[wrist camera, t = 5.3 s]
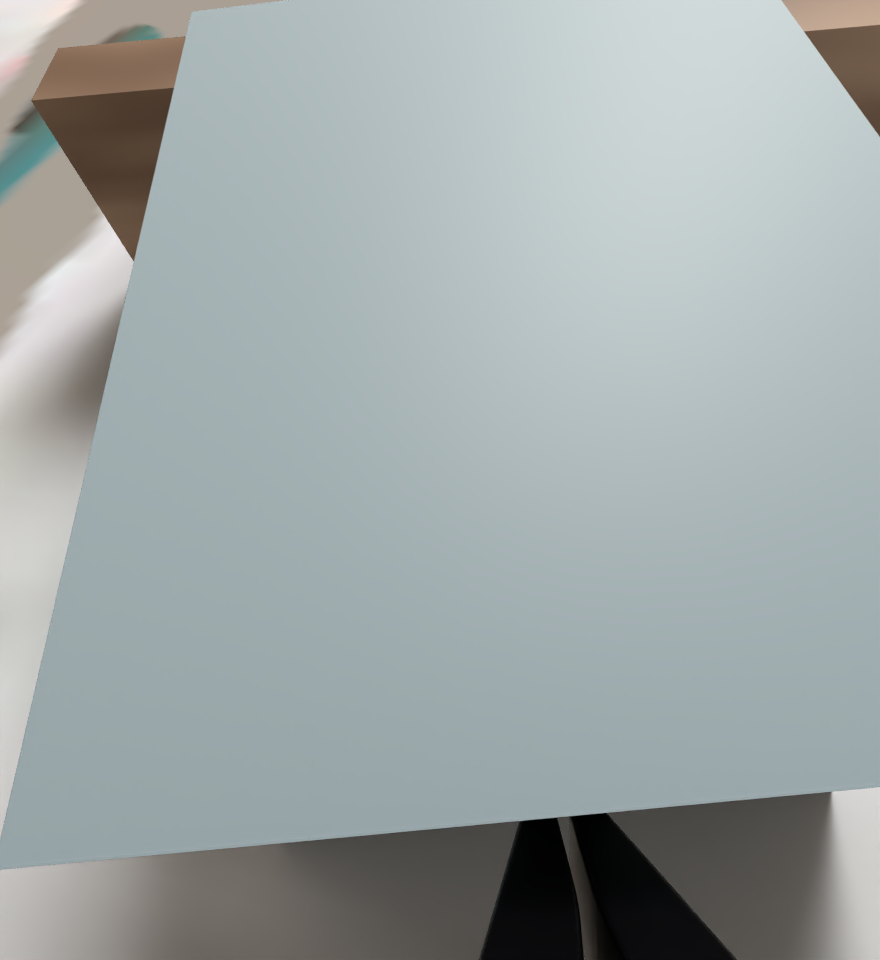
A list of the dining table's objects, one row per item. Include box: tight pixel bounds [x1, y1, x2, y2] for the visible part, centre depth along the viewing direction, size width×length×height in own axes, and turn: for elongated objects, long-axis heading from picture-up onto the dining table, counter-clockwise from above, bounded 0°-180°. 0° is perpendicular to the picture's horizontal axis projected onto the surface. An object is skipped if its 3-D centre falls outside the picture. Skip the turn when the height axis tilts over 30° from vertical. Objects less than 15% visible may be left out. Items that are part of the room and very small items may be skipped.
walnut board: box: [31, 0, 880, 261], centre depth 19 cm, size 2×24×7 cm, turn 92°
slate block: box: [0, 0, 880, 870], centre depth 13 cm, size 16×12×9 cm
